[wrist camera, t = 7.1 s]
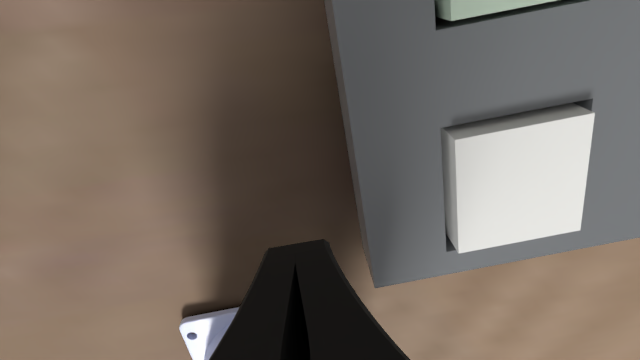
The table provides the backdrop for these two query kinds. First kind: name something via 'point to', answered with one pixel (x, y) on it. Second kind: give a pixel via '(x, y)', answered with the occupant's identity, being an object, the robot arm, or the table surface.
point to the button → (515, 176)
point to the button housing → (479, 116)
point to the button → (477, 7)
